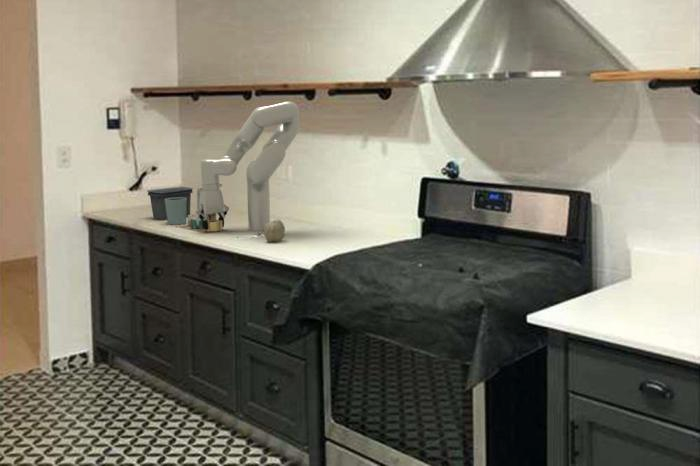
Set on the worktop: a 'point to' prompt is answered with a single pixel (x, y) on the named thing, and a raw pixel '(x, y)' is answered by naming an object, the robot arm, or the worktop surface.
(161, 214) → the storage bin
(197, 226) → the gear board
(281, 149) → the robot arm
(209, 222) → the brass gear
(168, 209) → the grey green cup
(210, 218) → the coffee box
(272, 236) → the tan rounded piece
